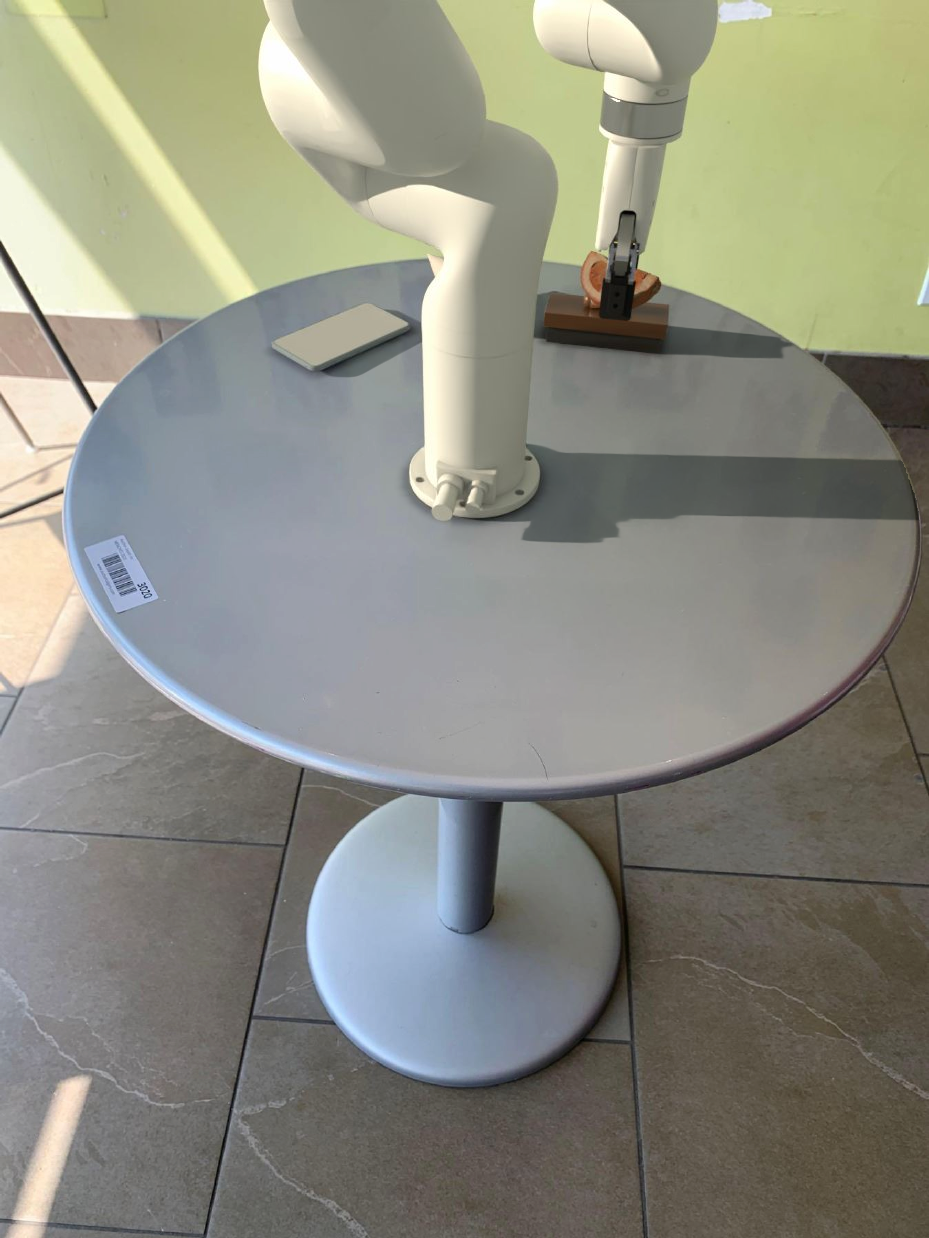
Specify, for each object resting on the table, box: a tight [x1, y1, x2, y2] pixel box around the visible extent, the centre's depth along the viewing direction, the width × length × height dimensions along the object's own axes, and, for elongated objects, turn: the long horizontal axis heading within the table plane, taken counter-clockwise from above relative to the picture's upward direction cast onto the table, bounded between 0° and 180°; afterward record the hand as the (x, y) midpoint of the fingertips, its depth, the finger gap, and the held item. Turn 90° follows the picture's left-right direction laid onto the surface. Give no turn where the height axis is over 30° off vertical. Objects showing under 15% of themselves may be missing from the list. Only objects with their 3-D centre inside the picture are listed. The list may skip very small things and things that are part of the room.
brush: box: [543, 292, 670, 354], centre depth 105 cm, size 5×14×6 cm, turn 79°
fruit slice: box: [579, 250, 662, 309], centre depth 93 cm, size 8×7×5 cm
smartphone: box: [271, 302, 411, 373], centre depth 106 cm, size 8×1×15 cm
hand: (617, 298), depth 94 cm, fingers closed on fruit slice, 7 cm apart
